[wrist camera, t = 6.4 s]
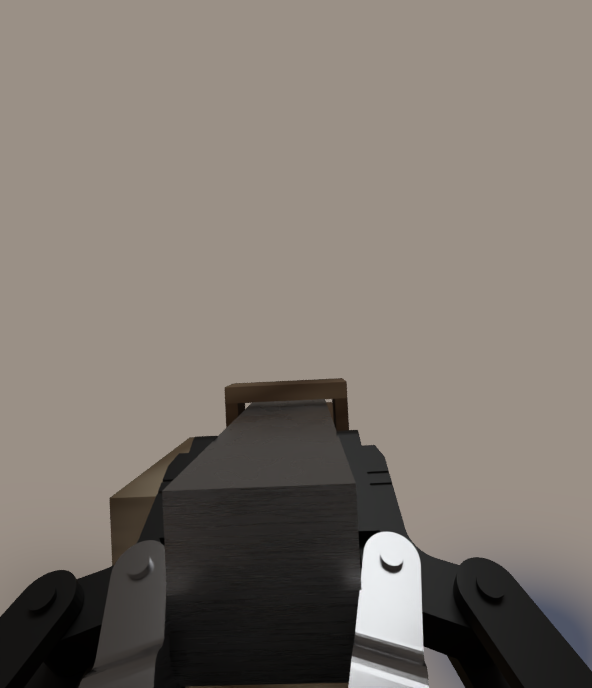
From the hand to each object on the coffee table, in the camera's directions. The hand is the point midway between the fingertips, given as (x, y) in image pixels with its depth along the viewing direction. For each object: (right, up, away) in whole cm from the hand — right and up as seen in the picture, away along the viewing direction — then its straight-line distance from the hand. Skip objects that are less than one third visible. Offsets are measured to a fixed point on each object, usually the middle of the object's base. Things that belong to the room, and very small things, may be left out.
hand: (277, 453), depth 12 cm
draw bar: (0, -3, +6) cm, 7 cm away
